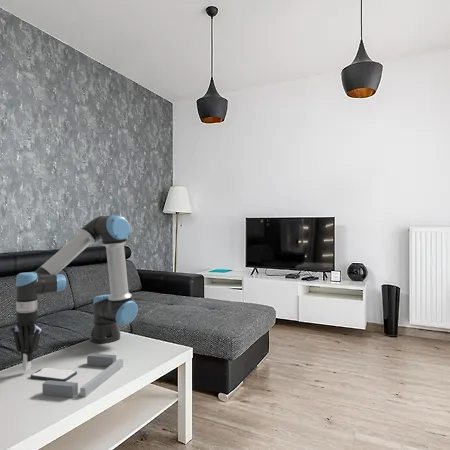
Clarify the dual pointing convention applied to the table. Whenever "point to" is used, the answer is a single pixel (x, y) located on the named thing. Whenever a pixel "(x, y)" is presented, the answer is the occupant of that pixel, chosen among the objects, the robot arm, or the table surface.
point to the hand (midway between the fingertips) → (27, 368)
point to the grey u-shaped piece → (72, 388)
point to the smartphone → (53, 374)
